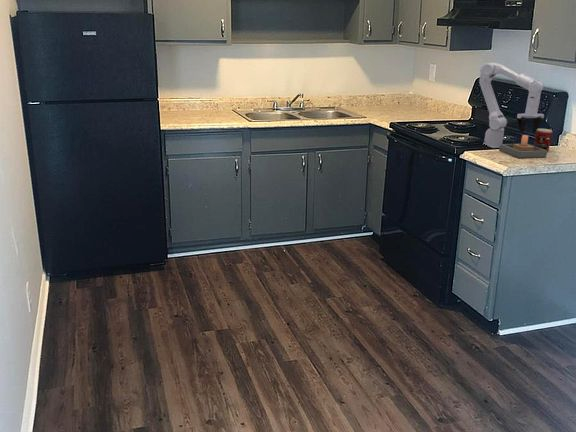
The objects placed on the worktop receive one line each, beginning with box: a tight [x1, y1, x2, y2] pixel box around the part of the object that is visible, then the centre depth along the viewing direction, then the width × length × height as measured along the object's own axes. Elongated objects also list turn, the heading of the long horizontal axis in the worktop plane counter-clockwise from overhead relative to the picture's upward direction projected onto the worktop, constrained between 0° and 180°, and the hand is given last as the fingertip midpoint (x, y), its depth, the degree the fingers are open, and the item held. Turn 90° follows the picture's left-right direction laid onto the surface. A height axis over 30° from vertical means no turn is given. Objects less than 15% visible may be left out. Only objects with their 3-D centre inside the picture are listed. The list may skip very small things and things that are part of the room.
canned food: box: [533, 128, 553, 153], centre depth 307 cm, size 8×8×11 cm
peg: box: [520, 134, 529, 146], centre depth 297 cm, size 3×3×9 cm
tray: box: [499, 143, 548, 160], centre depth 298 cm, size 16×16×5 cm
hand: (527, 132), depth 301 cm, fingers open, 7 cm apart
